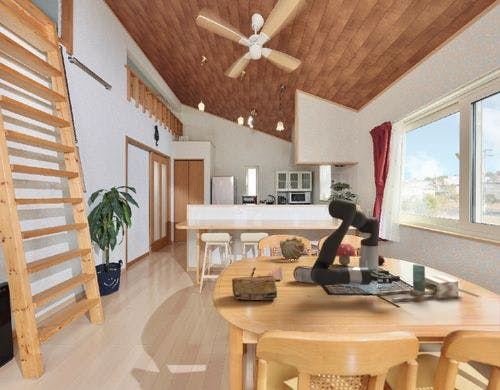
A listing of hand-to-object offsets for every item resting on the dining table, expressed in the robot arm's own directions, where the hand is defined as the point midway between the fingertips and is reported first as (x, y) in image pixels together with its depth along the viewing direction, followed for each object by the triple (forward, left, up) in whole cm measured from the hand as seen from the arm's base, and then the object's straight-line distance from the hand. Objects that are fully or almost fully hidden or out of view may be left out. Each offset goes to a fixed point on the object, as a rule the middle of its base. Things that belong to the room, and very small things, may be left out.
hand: (393, 275), depth 116 cm
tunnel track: (+16, -2, -10) cm, 19 cm away
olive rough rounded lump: (-18, +79, -10) cm, 82 cm away
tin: (-28, +29, -10) cm, 42 cm away
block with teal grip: (+17, -2, -9) cm, 19 cm away
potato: (+34, +56, -10) cm, 67 cm away
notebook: (-44, +49, -11) cm, 67 cm away
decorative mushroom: (+10, +57, -10) cm, 59 cm away
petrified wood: (-60, +14, -10) cm, 62 cm away
